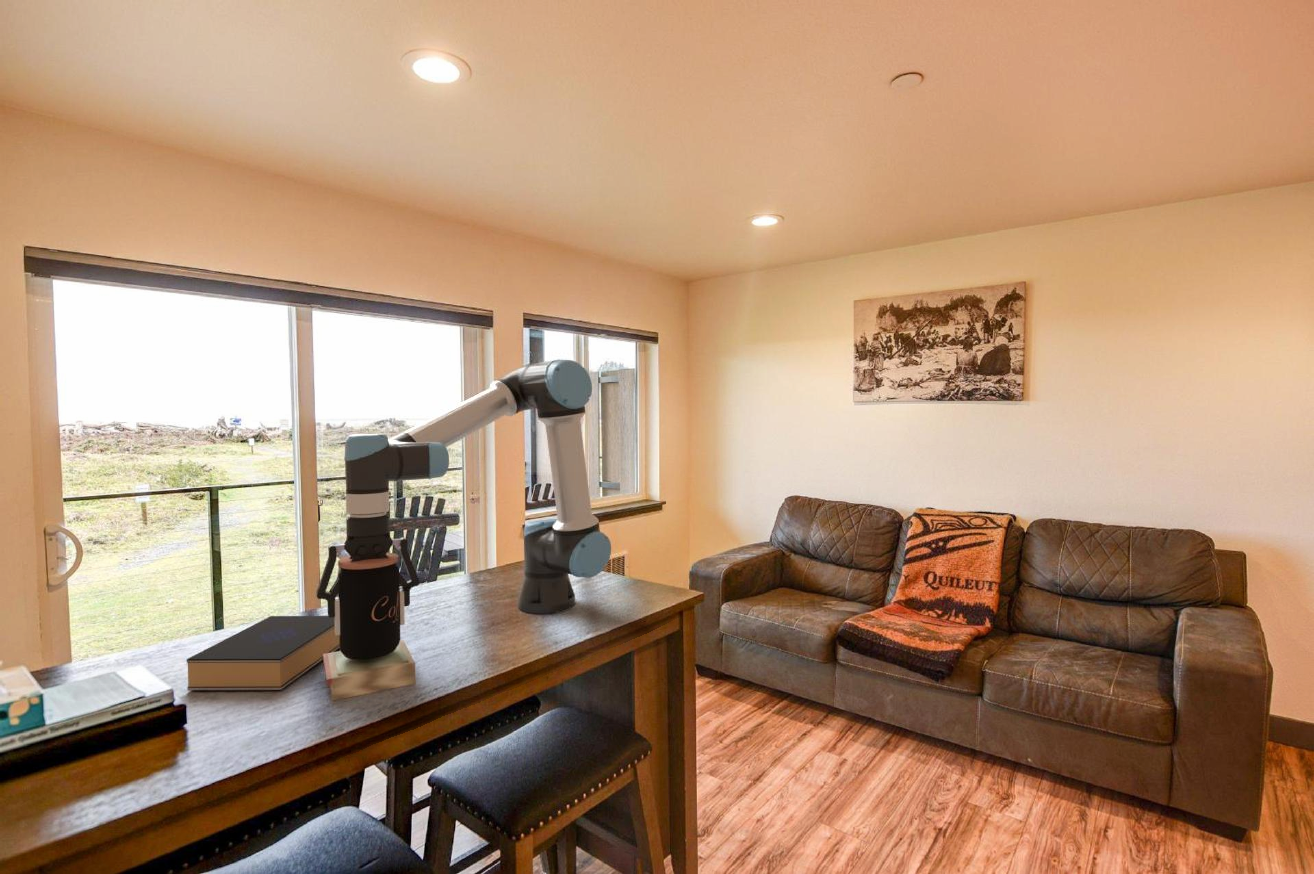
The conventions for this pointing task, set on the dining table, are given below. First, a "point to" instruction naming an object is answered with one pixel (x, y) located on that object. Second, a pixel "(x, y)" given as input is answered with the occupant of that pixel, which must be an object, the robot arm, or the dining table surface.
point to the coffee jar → (369, 607)
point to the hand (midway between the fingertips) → (370, 628)
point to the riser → (368, 672)
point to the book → (264, 654)
